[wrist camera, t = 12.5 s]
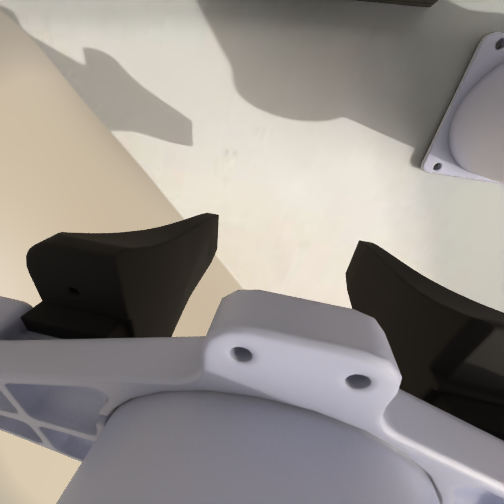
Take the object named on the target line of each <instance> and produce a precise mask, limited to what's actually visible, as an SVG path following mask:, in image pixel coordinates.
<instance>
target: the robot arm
mask: <svg viewBox="0 0 504 504" xmlns="http://www.w3.org/2000/svg"><path fill="white" fill-rule="evenodd" d="M498 40H501V41H502V44H501V47H500V48H499V49H498V50H497V49H496V47H495V45H496V43H497V41H498ZM436 163H439V166H438V168H436V169H433V167H434V165H435V164H436ZM421 169H422V170H423V171H425V172H428V173H435V174H441V175H448V176H454V177H460V178H467V179H473V180H480V181H486V182H493V183H499V184H504V32H493V33H490V34H488V35H486V36H485V37H484V38H483V39H482V40H481V41H480V43H479V45H478V47H477V49H476V51H475V53H474V55H473V57H472V59H471V61H470V63H469V65H468V68H467V70H466V72H465V74H464V76H463V78H462V80H461V82H460V84H459V86H458V88H457V90H456V93H455V95H454V97H453V99H452V101H451V103H450V105H449V107H448V109H447V111H446V113H445V115H444V118H443V120H442V122H441V124H440V126H439V128H438V130H437V132H436V134H435V136H434V138H433V141H432V143H431V145H430V147H429V149H428V151H427V153H426V155H425V157H424V159H423V161H422V163H421ZM218 219H219V215H216V214H211V213H204V214H200V215H197V216H194V217H191V218H188V219H185V220H182V221H179V222H176V223H173V224H169V225H165V226H161V227H158V228H152V229H147V230H140V231H131V232H121V233H99V234H98V233H92V234H91V233H66V232H61V233H58V234H56V235H54V236H52V237H50V238H48V239H46V240H44V241H42V242H40V243H38V244H35V245H34V246H33V247H31V248H30V249H29V251H28V253H27V256H26V259H27V260H26V261H27V268H28V271H29V273H30V276H31V278H32V280H33V282H34V284H35V286H36V288H37V290H38V292H39V295H40V297H41V299H42V300H43V301H42V302H41V303H39V304H38V305H36V306H35V307H34V308H33V307H32V306H31V305H29V304H28V303H26V302H23V301H19V300H15V299H11V298H6V297H1V296H0V430H2V431H5V432H8V433H10V434H13V435H15V436H18V437H21V438H23V439H26V440H28V441H31V442H33V443H36V444H38V445H41V446H44V447H46V448H49V449H51V450H53V451H56V452H59V453H61V454H63V455H66V456H68V457H71V458H73V459H76V460H78V461H81V462H82V463H81V465H80V467H79V468H78V470H77V471H76V473H75V475H74V476H73V478H72V479H71V481H70V482H69V484H68V486H67V487H66V489H65V490H64V492H63V494H62V495H61V497H60V499H59V500H58V502H57V503H56V504H504V313H503V312H500V311H498V310H495V309H492V308H490V307H487V306H485V305H482V304H480V303H477V302H475V301H473V300H470V299H468V298H466V297H464V296H461V295H459V294H457V293H455V292H453V291H451V290H449V289H447V288H445V287H443V286H441V285H439V284H437V283H435V282H433V281H432V280H430V279H428V278H426V277H425V276H423V275H421V274H420V273H418V272H416V271H415V270H413V269H412V268H410V267H409V266H407V265H406V264H404V263H403V262H401V261H400V260H398V259H397V258H395V257H394V256H392V255H391V254H390V253H388V252H387V251H385V250H384V249H382V248H381V247H379V246H377V245H376V244H374V243H370V242H365V241H359V242H358V245H357V247H356V250H355V252H354V254H353V257H352V259H351V262H350V264H349V267H348V269H347V271H346V283H347V291H348V294H349V298H350V302H351V305H352V309H349V308H345V307H340V306H335V305H330V304H325V303H320V302H316V301H311V300H306V299H301V298H296V297H291V296H287V295H282V294H277V293H272V292H267V291H262V290H237V291H235V292H233V293H231V294H229V295H227V296H226V297H224V298H222V300H221V302H220V305H219V307H218V309H217V311H216V314H215V316H214V318H213V321H212V323H211V326H210V328H209V330H208V333H207V335H206V336H202V337H201V336H200V337H172V334H173V332H174V330H175V327H176V325H177V323H178V321H179V318H180V316H181V314H182V311H183V310H184V308H185V305H186V304H187V301H188V299H189V297H190V295H191V294H192V292H193V290H194V289H195V287H196V286H197V284H198V282H199V281H200V279H201V278H202V276H203V274H204V273H205V272H206V270H207V268H208V267H209V265H210V263H211V262H212V259H213V257H214V255H215V253H216V250H217V240H218Z"/></svg>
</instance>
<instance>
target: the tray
mask: <svg viewBox="0 0 504 504" xmlns="http://www.w3.org/2000/svg"><path fill="white" fill-rule="evenodd" d="M358 1H369V2H380V3H391V4H402V5H413V6H424V7H431V6H432V5H433V4H434V3H435V2H437V1H438V0H358Z"/></svg>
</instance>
